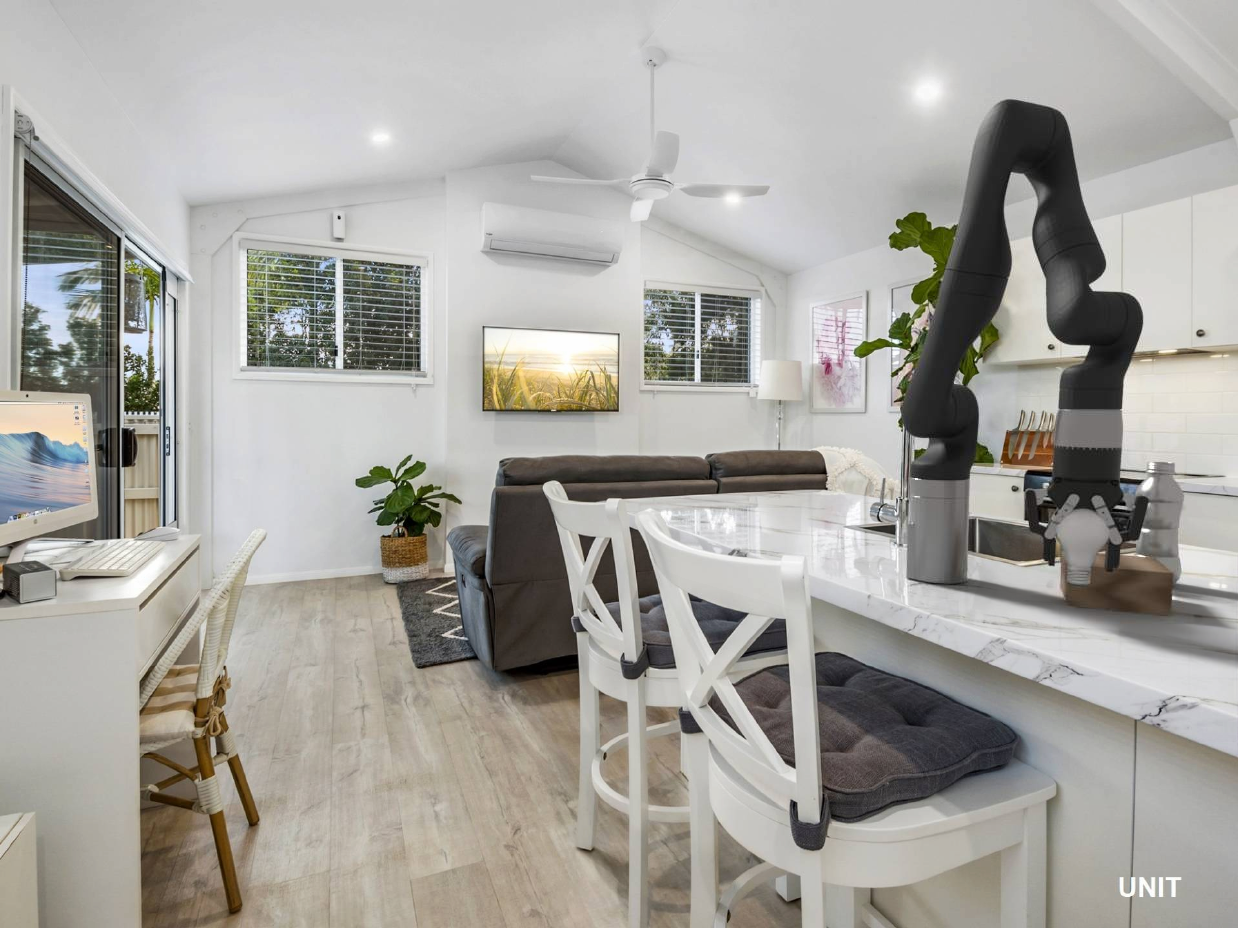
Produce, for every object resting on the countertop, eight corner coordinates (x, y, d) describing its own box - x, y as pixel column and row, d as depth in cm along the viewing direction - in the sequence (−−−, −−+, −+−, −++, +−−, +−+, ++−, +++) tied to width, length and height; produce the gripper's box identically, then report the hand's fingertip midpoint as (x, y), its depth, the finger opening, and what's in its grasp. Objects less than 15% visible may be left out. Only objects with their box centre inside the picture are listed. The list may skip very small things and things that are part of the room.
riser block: (1067, 605, 100) (1069, 564, 100) (1060, 587, 111) (1061, 550, 110) (1171, 615, 94) (1173, 573, 94) (1152, 595, 105) (1154, 557, 105)
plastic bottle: (1138, 586, 111) (1143, 463, 110) (1125, 577, 117) (1130, 461, 116) (1187, 590, 108) (1193, 464, 107) (1171, 580, 115) (1177, 461, 113)
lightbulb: (1040, 580, 96) (1045, 502, 95) (1087, 580, 96) (1092, 503, 95) (1068, 592, 90) (1073, 509, 89) (1118, 593, 89) (1123, 510, 89)
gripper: (1025, 443, 91) (1018, 567, 93) (1160, 447, 84) (1151, 580, 86) (1023, 441, 98) (1017, 556, 99) (1149, 444, 91) (1140, 568, 92)
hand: (1079, 567), depth 93 cm, fingers closed on lightbulb, 6 cm apart
